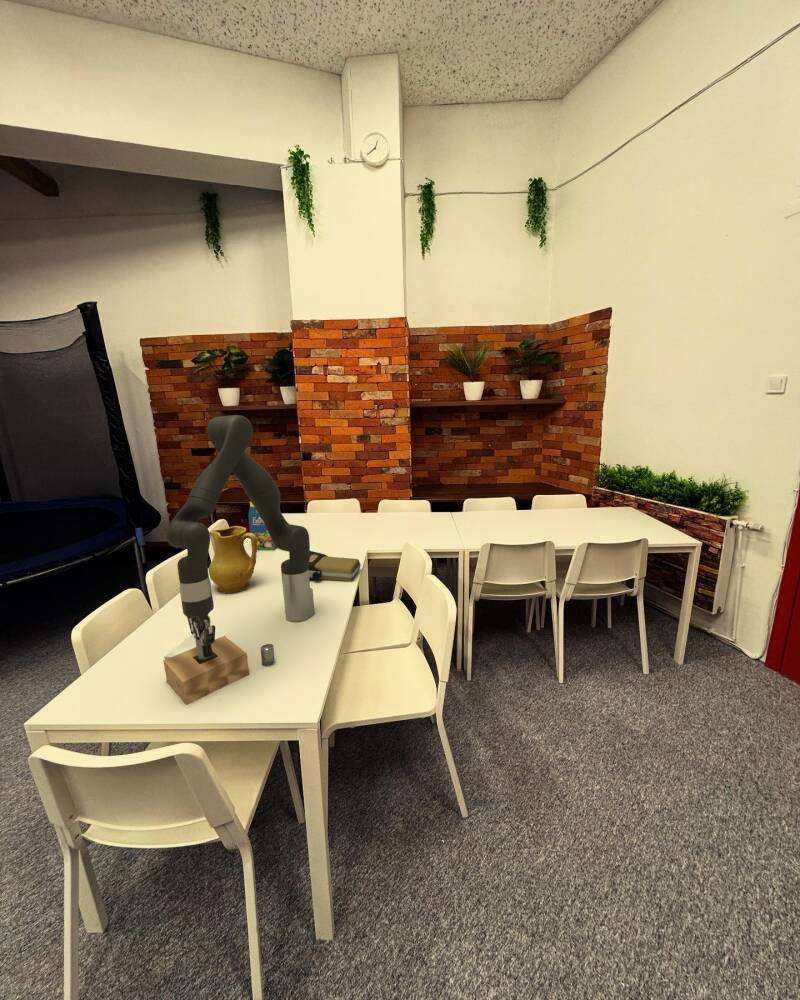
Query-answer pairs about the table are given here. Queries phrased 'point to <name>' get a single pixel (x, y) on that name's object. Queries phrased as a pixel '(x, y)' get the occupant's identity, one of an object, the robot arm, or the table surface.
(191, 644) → the hard drive
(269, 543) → the blue food package
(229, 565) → the pitcher
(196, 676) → the guide block
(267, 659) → the short pin
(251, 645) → the table surface
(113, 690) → the table surface
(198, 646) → the long pin
